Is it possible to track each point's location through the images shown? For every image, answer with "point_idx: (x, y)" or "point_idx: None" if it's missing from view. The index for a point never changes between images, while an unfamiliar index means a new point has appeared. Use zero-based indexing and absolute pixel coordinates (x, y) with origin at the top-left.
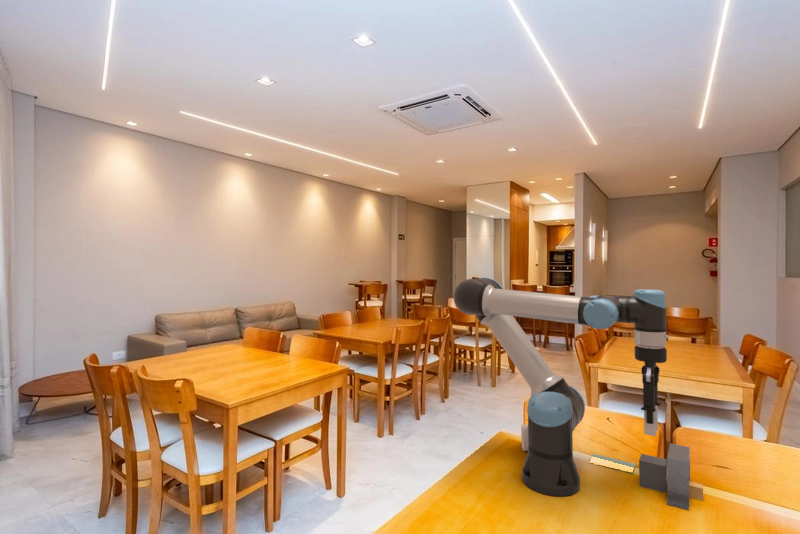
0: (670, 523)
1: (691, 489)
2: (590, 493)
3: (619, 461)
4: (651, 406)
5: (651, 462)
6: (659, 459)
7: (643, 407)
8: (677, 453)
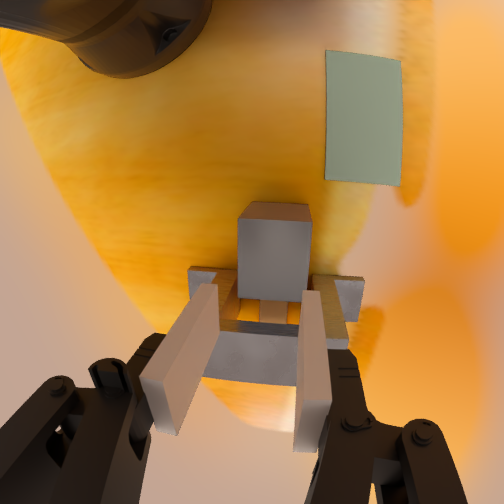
0: (120, 270)
1: None
2: (136, 102)
3: (390, 138)
4: (53, 433)
5: (244, 258)
6: (289, 282)
7: (50, 385)
8: (250, 357)
